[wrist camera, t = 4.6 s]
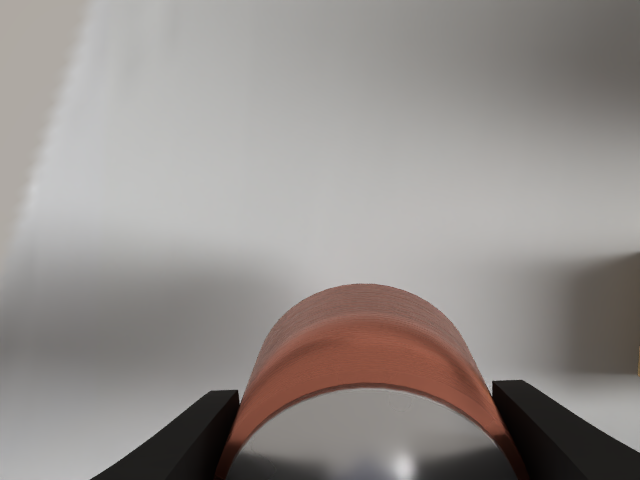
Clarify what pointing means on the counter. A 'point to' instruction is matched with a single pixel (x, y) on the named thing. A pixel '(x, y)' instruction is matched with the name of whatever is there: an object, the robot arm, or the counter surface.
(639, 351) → the tan block
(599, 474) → the robot arm
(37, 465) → the counter surface
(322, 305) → the bean tin
